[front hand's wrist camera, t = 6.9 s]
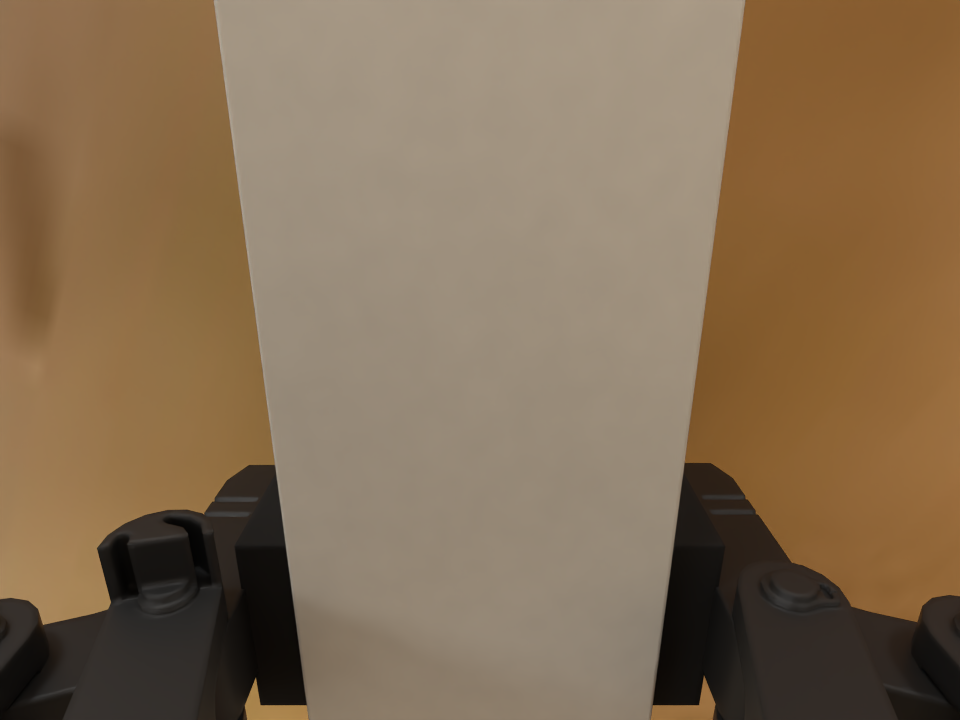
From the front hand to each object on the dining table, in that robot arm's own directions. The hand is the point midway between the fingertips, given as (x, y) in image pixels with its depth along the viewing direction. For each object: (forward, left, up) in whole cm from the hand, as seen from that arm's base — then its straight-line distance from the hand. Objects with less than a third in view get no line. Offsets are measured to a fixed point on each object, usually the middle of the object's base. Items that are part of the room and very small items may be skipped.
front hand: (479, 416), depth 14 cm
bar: (+31, 0, -1) cm, 31 cm away
